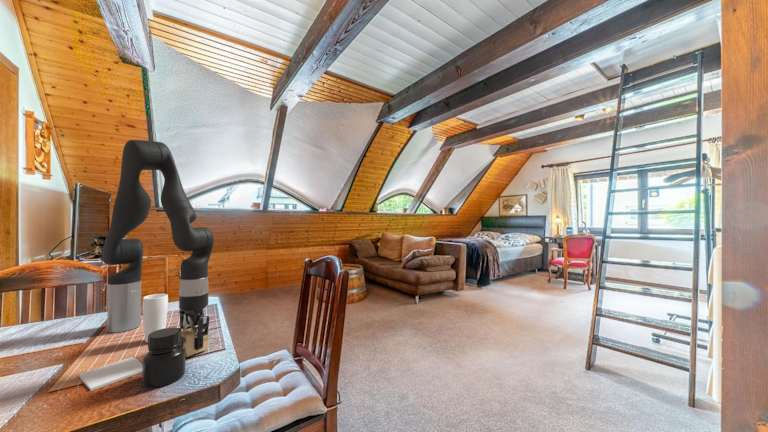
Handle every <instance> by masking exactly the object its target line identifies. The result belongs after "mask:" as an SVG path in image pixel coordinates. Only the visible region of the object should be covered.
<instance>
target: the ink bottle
mask: <svg viewBox="0 0 768 432" xmlns="http://www.w3.org/2000/svg"><path fill="white" fill-rule="evenodd" d="M181 331H182V329H181V328H180V327H175V326H174V327H166V328H164V329H160V330H157V331H154V332H152V333H150V334H149V335H148V343H147V353H146V354H145V355H144V356H143V357H142V362H141V363H142V372H141V380H142V381H141V384H142V385H143V386H144V387H146V388H150V389H151V388H161V387H163V386H164V387H165V386H166V385H169V384H173V383H174V382H177V381H179V379H181V378H183V377H184V375H185V374H186V357H187V356H186V351H185V348H184V347H183V346H181V345H180V343H181Z"/></svg>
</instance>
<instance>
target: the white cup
mask: <svg viewBox="0 0 768 432" xmlns="http://www.w3.org/2000/svg"><path fill="white" fill-rule="evenodd" d="M168 309H169V295H168V293H153V294H149V295H145V296H143V297H142V301H141V313H142V320H143V329H144V330H143V331H144V333H143V334H144V342H145V343H146V344H148V335H149V334H150V333H152V332H154V331H157V330H160V329H164V328H167V327H166V326H167V318H168Z"/></svg>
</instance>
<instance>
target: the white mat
mask: <svg viewBox="0 0 768 432" xmlns="http://www.w3.org/2000/svg"><path fill="white" fill-rule="evenodd" d="M140 373H141V374H142V362H141V361H139V360H138V359H137V358H135V357H134V356H131V357H129V358H126V359H122V360H120V361H115V362H112V363H109V364H107V365H104V366H101V367H97V368H95V369H90V370H88V371H85V372H82V373H79V374H78V378H79V379H80V380H81V381H82V382H83V384H84V385H85V386H86V387H87V388H88V390H89V391H90V392H92V391H95V390H96V389H100V388H103V387H106V386H108V385H111V384H114V383H116V382H119V381H121V380H125V379H126V378H131V377H133V376H135V375H138V374H140Z"/></svg>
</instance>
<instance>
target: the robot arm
mask: <svg viewBox="0 0 768 432" xmlns="http://www.w3.org/2000/svg"><path fill="white" fill-rule="evenodd" d="M121 156H122V157H121V169H120V178H119V183H118V189H117V193H116V196H115V199H114V205H113V207H112V214H111V220H110V224H109V225H110V226H109V229H108V232H107V235H106V238H105V240H104V243H103V246H102V249H101V250H102V252H101V260H102V262H103V263H104V264H106V265H110V266H111V265H113V266H115V265H118V266H119V265H126V264H128V266H127V267H125V268H123V269H121V270H120V271H117V272H115V273H112V274H110V275H109V276H108V277H107V323H106V324H107V328H106V329H107V333H113V334H114V333H122V332H128V331H131V330H135V329H136V328H139V327H140V326H141V324H142V318H141V317H142V273H143V272H142V271H143V257H144V245H143V241H142V240H141V239H140V238H125V237H127V235H128V234H129V233H131V232H132V231H134V230H135V229H137V228H138V227H139V226H141V225H142V224H143V223H144V222H145V221H146V219H147V218H148V217H149V213H150V210H151V206H152V199H151V197H150V195H149V194H148V192H147V190H146V189H145V188H144V187H143V185H142V183H141V181H140V177H141V172H142V171H160V173H161V174H162V177H163V178H164V179H163V180H164V183H163V186H162V189H161V194H160V202H161V203H160V204H161V207H162V209H163V211H164V212H165V214H166V217H167V218H168V220H169V222H170V229H171V236H172V241H173V244H174V245H175V247H176V248H177V249H178V250H180V251H183V252H191V254H190V256H189V257H187V258H185V259H183V260H182V261H181V263H180V281H179V286H178V287H179V289H178V290H179V291H178V298H179V299H178V309H179V313H178V314H179V328H180V329H181V330H186V329H189V328H191V331H193V332H194V337H195V338H194V349H195V350H199V349H201V348H203V336H205V335H208V329H209V326H210V316H209V315H207V316H206V315H205V312H204V309H205V308H206V307H207V306H208V305H209V278H208V276H209V275H208V273H209V261H210V258H211V256H212V251H213V248H214V243H215V236H214V234H213V232H212V230H211V229H210V228H207V227H192V226H191V224H192V223H194V222H195V221H196V219H197V212H196V211H195V210H194V208H193V205H192V204H191V201H190V200H189V198H188V196H187V194H186V191H185V190H184V187H183V184H182V180H181V177H180V174H179V171H178V168H177V165H176V163H175V160H174V156H173V153H172V152H171V150H170V148H169V147H168V146H167V144H165V143H164V142H161V141H156V140H155V141H153V140H143V139H141V140H140V139H130V140H128V141H126V142H125V144H124V146H123V150H122V154H121ZM196 326H198V327H196ZM197 329H198V332H197ZM204 329H205V331H204Z"/></svg>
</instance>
